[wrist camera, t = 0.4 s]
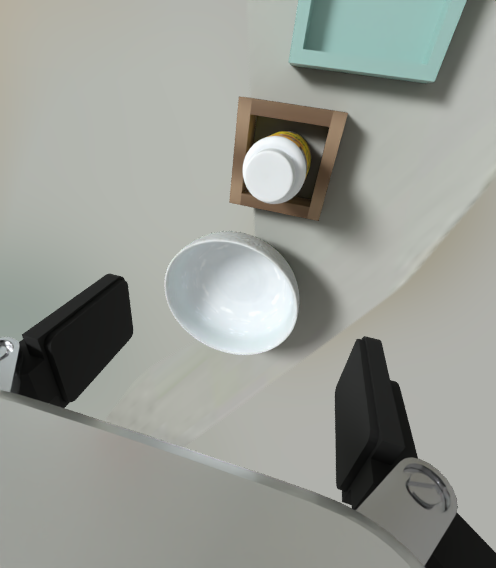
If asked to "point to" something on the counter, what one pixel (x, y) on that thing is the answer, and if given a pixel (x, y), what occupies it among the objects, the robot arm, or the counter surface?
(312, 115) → the socket block
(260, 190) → the supplement bottle
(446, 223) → the counter surface
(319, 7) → the tray
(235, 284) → the cereal bowl
